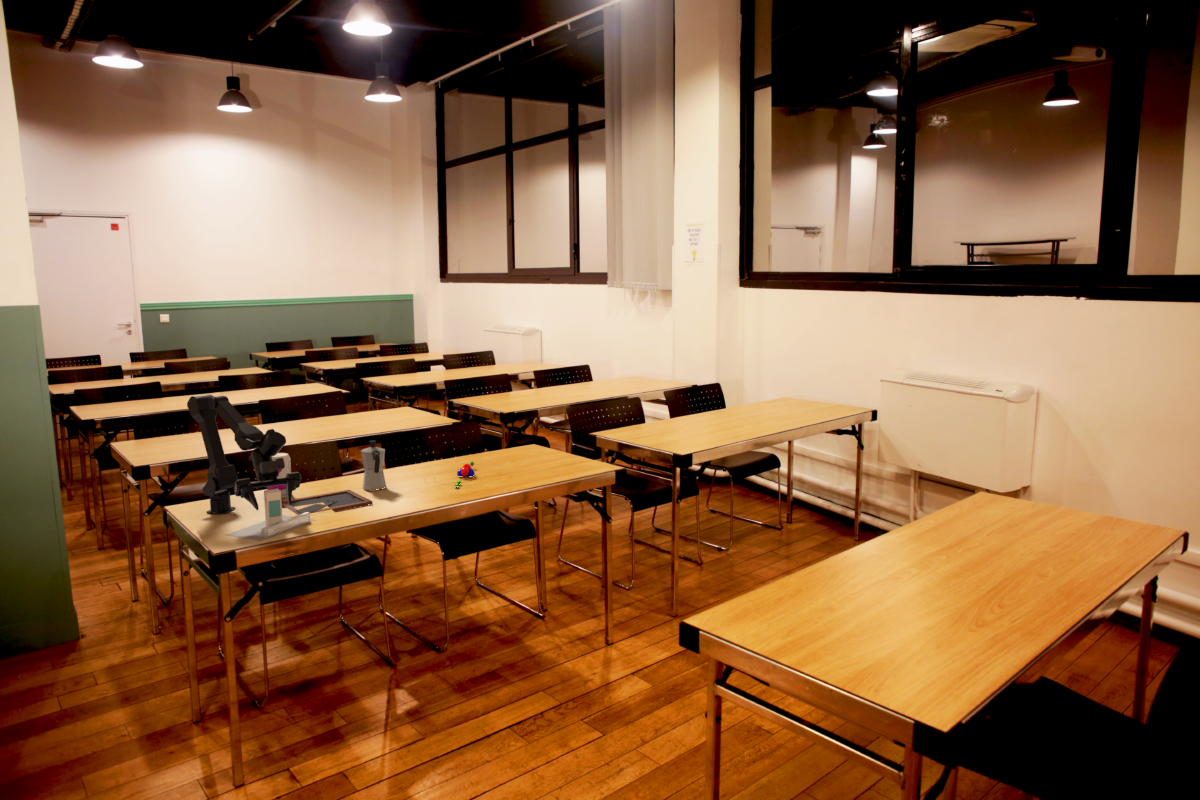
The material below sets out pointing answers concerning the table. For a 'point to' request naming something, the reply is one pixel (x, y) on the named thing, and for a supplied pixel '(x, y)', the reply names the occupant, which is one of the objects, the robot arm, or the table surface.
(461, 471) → the atom model
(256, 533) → the shelf board
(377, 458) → the coffee maker
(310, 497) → the picture frame
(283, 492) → the supplement can
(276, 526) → the rail
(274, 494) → the carton
